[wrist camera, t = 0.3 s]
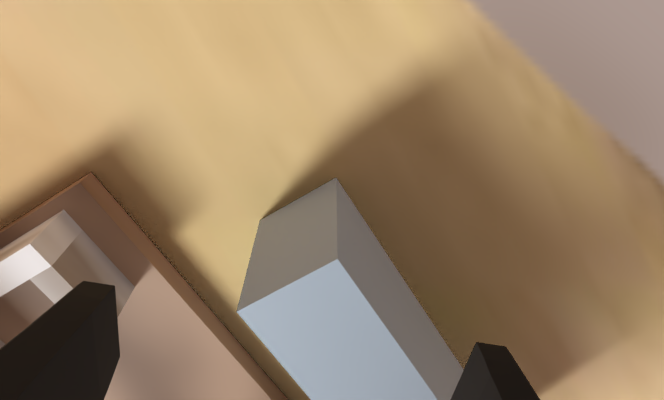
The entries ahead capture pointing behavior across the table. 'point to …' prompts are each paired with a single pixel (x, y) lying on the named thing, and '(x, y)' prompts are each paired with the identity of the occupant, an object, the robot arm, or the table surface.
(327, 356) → the slat
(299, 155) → the table surface
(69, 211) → the frame
